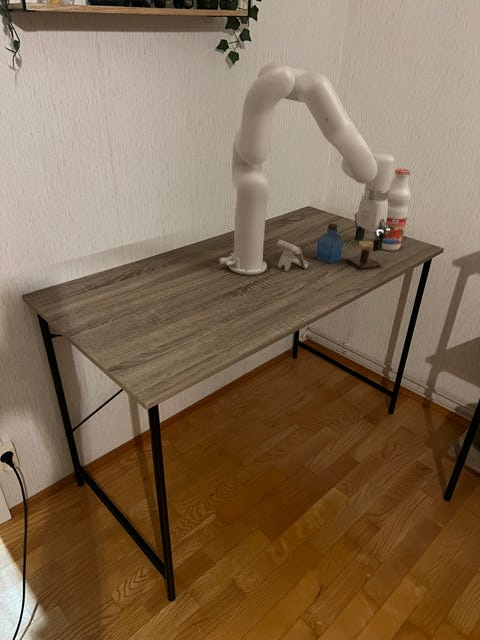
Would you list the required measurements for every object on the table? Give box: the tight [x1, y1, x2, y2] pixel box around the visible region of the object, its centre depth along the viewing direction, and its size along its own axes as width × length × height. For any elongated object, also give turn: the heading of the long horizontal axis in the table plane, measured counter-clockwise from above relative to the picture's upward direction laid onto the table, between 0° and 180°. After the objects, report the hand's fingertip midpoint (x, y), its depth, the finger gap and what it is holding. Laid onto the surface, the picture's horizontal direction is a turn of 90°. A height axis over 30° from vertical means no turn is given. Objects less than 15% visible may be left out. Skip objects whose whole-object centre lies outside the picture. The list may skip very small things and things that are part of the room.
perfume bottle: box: [315, 223, 344, 264], centre depth 168 cm, size 6×6×12 cm
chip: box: [357, 240, 374, 251], centre depth 165 cm, size 5×5×1 cm
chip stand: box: [346, 249, 381, 271], centre depth 167 cm, size 8×8×6 cm
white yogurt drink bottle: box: [378, 168, 412, 251], centre depth 177 cm, size 9×9×28 cm
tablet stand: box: [277, 239, 310, 272], centre depth 162 cm, size 9×8×8 cm
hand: (367, 245), depth 165 cm, fingers open, 9 cm apart
